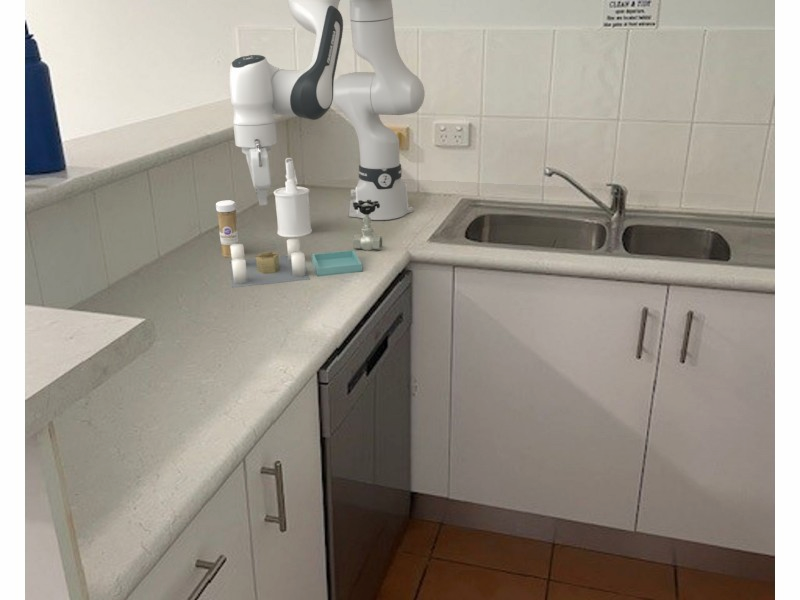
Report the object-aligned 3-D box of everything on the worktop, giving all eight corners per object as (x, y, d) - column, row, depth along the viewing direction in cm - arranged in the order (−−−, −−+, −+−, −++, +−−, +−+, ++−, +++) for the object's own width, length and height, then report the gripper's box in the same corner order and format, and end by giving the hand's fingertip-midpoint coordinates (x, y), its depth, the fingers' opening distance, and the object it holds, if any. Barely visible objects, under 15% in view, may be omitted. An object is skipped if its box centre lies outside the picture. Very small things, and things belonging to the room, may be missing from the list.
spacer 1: (232, 264, 170) (230, 244, 169) (245, 263, 171) (243, 243, 169) (232, 268, 168) (230, 248, 166) (245, 267, 168) (243, 246, 166)
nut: (256, 268, 168) (255, 253, 166) (278, 265, 169) (277, 251, 167) (258, 274, 164) (256, 259, 162) (280, 272, 165) (279, 257, 164)
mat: (230, 262, 172) (230, 261, 172) (301, 255, 176) (301, 254, 176) (232, 288, 157) (232, 287, 157) (310, 280, 161) (310, 279, 161)
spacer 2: (233, 279, 161) (231, 258, 159) (247, 278, 162) (245, 257, 160) (234, 284, 158) (231, 263, 156) (248, 283, 159) (245, 262, 157)
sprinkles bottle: (223, 259, 175) (216, 205, 169) (221, 253, 179) (214, 200, 173) (242, 257, 176) (236, 203, 171) (239, 251, 180) (233, 198, 175)
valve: (378, 255, 175) (376, 207, 171) (351, 254, 177) (349, 206, 172) (384, 246, 181) (382, 200, 177) (358, 245, 183) (356, 199, 178)
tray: (312, 262, 171) (311, 254, 171) (354, 258, 174) (353, 249, 173) (317, 277, 162) (317, 268, 161) (362, 272, 164) (361, 264, 164)
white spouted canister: (275, 229, 196) (268, 156, 188) (309, 226, 198) (303, 153, 191) (280, 241, 187) (273, 164, 179) (315, 237, 189) (310, 161, 181)
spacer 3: (287, 258, 173) (285, 238, 171) (300, 257, 174) (298, 237, 172) (288, 262, 171) (287, 242, 169) (301, 261, 171) (300, 241, 169)
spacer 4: (291, 273, 164) (290, 252, 162) (305, 271, 165) (303, 251, 163) (293, 277, 162) (291, 256, 160) (306, 276, 162) (305, 255, 160)
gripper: (274, 144, 146) (280, 210, 151) (266, 127, 164) (272, 187, 169) (242, 146, 144) (249, 212, 150) (238, 129, 163) (245, 189, 168)
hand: (261, 199), depth 160 cm, fingers open, 8 cm apart
